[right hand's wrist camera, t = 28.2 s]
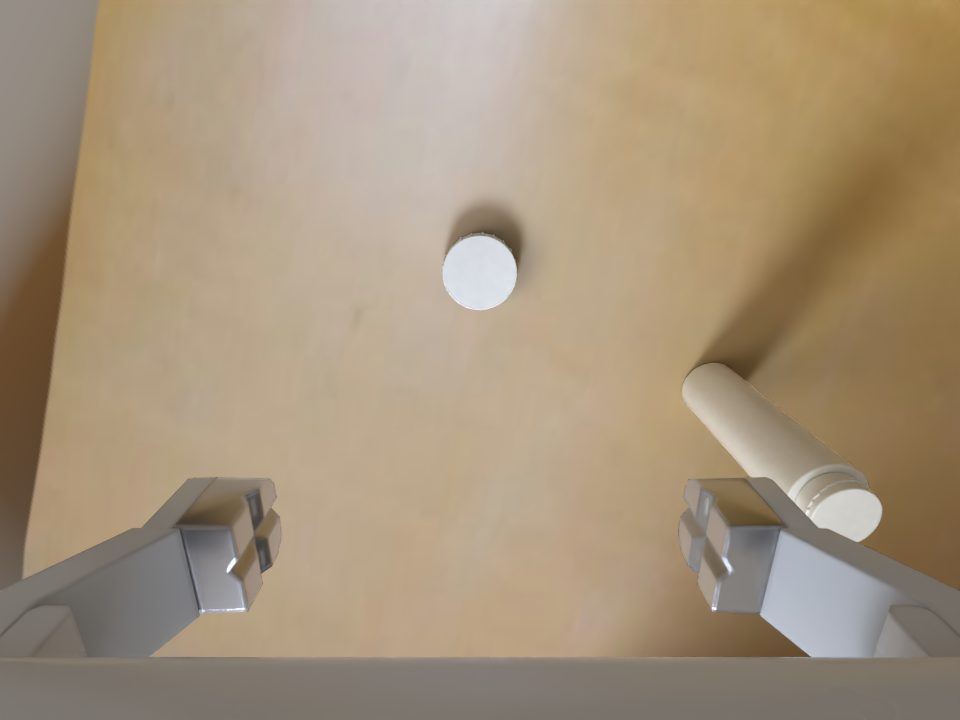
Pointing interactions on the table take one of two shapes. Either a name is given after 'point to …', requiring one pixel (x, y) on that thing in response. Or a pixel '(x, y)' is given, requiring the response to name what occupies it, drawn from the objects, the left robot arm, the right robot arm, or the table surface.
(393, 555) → the table surface
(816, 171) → the table surface
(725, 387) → the bottle
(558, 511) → the table surface
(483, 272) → the lid
